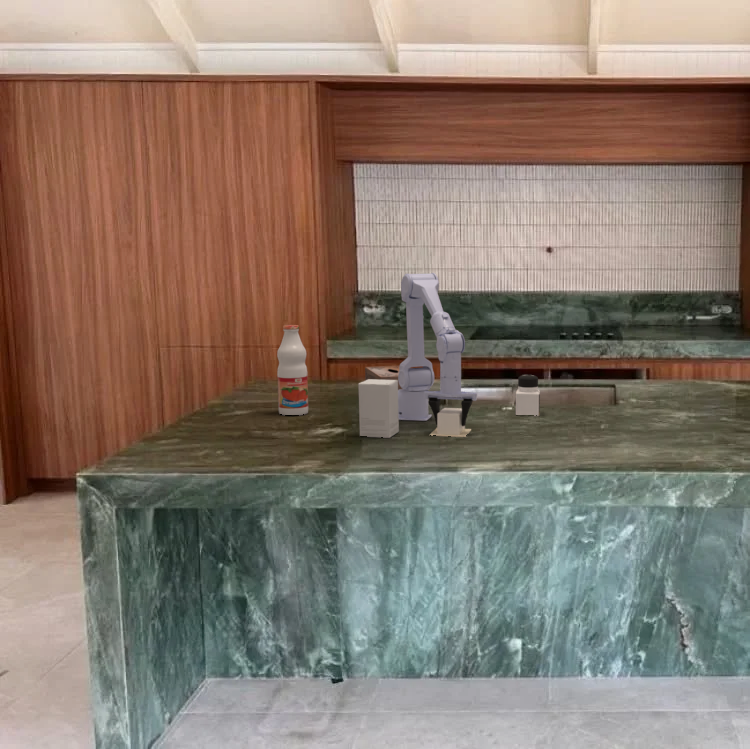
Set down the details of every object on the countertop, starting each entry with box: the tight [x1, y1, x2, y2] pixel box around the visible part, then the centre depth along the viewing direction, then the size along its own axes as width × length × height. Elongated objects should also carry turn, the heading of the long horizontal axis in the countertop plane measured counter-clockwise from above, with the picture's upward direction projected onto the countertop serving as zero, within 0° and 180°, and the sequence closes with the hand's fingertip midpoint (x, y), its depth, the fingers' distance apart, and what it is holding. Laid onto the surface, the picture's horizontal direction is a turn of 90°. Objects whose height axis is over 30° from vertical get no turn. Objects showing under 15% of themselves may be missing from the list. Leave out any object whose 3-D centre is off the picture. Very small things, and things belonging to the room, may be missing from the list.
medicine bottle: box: [515, 374, 541, 417], centre depth 262 cm, size 7×7×12 cm
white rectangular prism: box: [436, 407, 466, 435], centre depth 238 cm, size 10×6×6 cm, turn 164°
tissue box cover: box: [364, 365, 402, 390], centre depth 294 cm, size 26×14×10 cm, turn 12°
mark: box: [429, 427, 472, 438], centre depth 238 cm, size 10×10×1 cm
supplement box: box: [357, 379, 400, 439], centre depth 236 cm, size 9×9×15 cm
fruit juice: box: [276, 324, 309, 416], centre depth 268 cm, size 9×9×28 cm
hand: (450, 424), depth 237 cm, fingers open, 7 cm apart
